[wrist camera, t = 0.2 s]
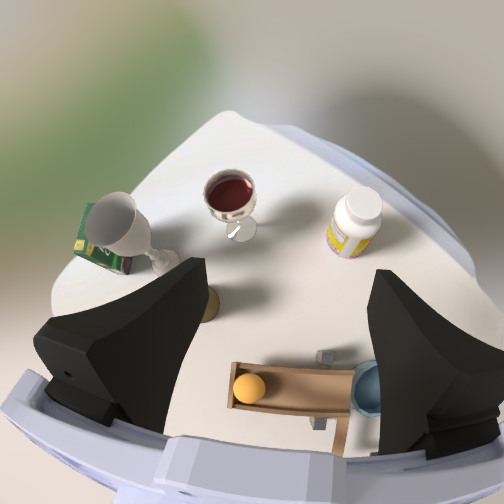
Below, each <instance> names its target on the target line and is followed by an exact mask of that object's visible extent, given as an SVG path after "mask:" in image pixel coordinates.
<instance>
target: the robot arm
mask: <svg viewBox="0 0 504 504" xmlns="http://www.w3.org/2000/svg"><path fill="white" fill-rule="evenodd" d="M208 300H209V290H208V282H207V274H206V266H205V258H194V257H191V258H189V259H187V260H185V261H184V262H182V263H181V264H179V265H177V266H176V267H174V268H173V269H171V270H170V271H168V272H167V273H165V274H163V275H162V276H160V277H159V278H157V279H155V280H154V281H152V282H150V283H149V284H147V285H145V286H143V287H142V288H140V289H138V290H136V291H134V292H132V293H130V294H128V295H126V296H124V297H122V298H119V299H117V300H115V301H112V302H109V303H107V304H104V305H101V306H99V307H96V308H92V309H89V310H85V311H82V312H78V313H74V314H69V315H63V316H58V317H52V318H50V319H49V320H48V321H47V322H46V323H45V325H44V326H43V327H42V328H41V329H40V330H39V331H38V333H37V334H36V335H35V336H34V338H33V342H34V347H35V349H36V352H37V353H38V355H39V357H40V358H41V360H42V361H43V363H44V364H45V366H46V367H47V369H48V370H49V371H50V373H51V374H52V375H53V378H52V380H51V381H50V382H49V381H48V380H47V379H46V378H44V377H43V376H41V375H39V374H37V373H36V372H34V371H32V370H30V369H27V370H26V371H25V373H24V374H23V375H22V376H21V378H20V379H19V381H18V382H17V383H16V385H15V386H14V388H13V389H12V390H11V392H10V393H9V395H8V396H7V398H6V399H5V400H4V402H3V403H2V405H1V406H0V412H1V413H2V414H3V415H4V416H5V417H6V418H7V419H8V420H9V421H10V422H11V423H12V424H13V425H14V426H15V427H16V428H18V429H19V430H20V431H21V432H22V433H23V434H24V435H25V436H26V437H28V438H29V439H30V440H31V441H32V442H33V443H35V444H36V445H38V446H39V447H40V448H42V449H43V450H45V451H46V452H48V453H49V454H51V455H52V456H54V457H55V458H57V459H58V460H60V461H61V462H63V463H64V464H66V465H68V466H69V467H71V468H72V469H74V470H76V471H77V472H79V473H81V474H83V475H84V476H86V477H88V478H90V479H92V480H93V481H95V482H97V483H99V484H101V485H103V486H105V487H107V488H109V489H111V490H113V491H115V492H116V494H115V497H114V499H113V502H112V504H470V503H472V502H474V501H477V500H479V499H482V498H484V497H486V496H488V495H491V494H493V493H495V492H497V491H499V490H500V489H502V488H504V421H503V422H501V423H500V424H498V422H497V417H499V415H500V410H499V407H498V406H499V405H500V404H501V403H502V402H503V400H504V351H503V350H500V349H497V348H495V347H492V346H490V345H488V344H486V343H484V342H482V341H480V340H478V339H476V338H474V337H473V336H471V335H469V334H468V333H466V332H464V331H463V330H461V329H459V328H458V327H456V326H455V325H453V324H452V323H451V322H449V321H448V320H446V319H445V318H444V317H442V316H441V315H440V314H439V313H437V312H436V311H435V310H434V309H432V308H431V307H430V306H429V305H428V304H427V303H425V302H424V301H423V300H422V299H421V298H420V297H419V296H418V295H417V294H416V293H415V292H414V291H412V290H411V289H410V288H409V287H408V286H407V285H406V284H405V283H404V282H403V281H402V280H401V279H400V278H399V277H398V276H397V275H396V274H394V273H393V272H392V271H391V270H382V269H377V270H376V274H375V278H374V282H373V287H372V291H371V294H370V298H369V302H368V306H367V314H368V325H369V331H370V336H371V340H372V345H373V349H374V354H375V358H376V363H377V368H378V374H379V383H380V407H381V419H380V440H379V451H378V456H370V457H353V458H342V457H340V456H337V455H335V454H332V453H328V452H318V451H309V450H290V449H277V448H267V447H258V446H250V445H243V444H236V443H230V442H224V441H219V440H214V439H209V438H204V437H196V436H188V435H181V436H177V437H170V436H167V435H163V432H164V427H165V422H166V417H167V413H168V409H169V405H170V401H171V397H172V393H173V390H174V387H175V383H176V380H177V377H178V374H179V370H180V367H181V364H182V362H183V359H184V357H185V354H186V352H187V350H188V348H189V346H190V344H191V342H192V340H193V338H194V336H195V333H196V331H197V329H198V327H199V325H200V323H201V321H202V319H203V316H204V313H205V310H206V307H207V304H208Z"/></svg>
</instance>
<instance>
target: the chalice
mask: <svg viewBox="0 0 504 504" xmlns="http://www.w3.org/2000/svg"><path fill="white" fill-rule="evenodd" d="M84 230H85V235H86V238H87V239H88V241H89V242H90V243H91V244H93V245H94V246H97V247H105V248H107V249H108V250H110V251H112V252H113V253H115V254H117V255H118V256H136V255H140V254H145V255H147V256H149V258H150V259H151V260H152V268H153V271H154V273H155V274H156V275H157V276H158V277H160V276H162V275H163V274H165V273H167V272H168V271H170V270H171V269H173V268H174V267H176V266H177V265H179V264H180V258H179V256H178V254H177V253H176V252H175V251H173V250H170V249H165V250H159V251H158V250H157V249H154V248H153V246H151V230H150V226H149V223H148V220H147V219H146V218H145V217H144V216H143V215H142V214H141V213H140V212H139V211H138V210H137V209H136V204H135V201H134V199H133V198H132V197H131V196H130V195H129V194H127V193H124V192H114V193H111V194H108V195H106V196H104V197H103V198H101V199H100V200H99V201H98V202H97V203H96V204H95V205H94V206H93V207H92V209H91V210H90V212H89V213H88V216H87V218H86V221H85V229H84Z"/></svg>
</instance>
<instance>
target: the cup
mask: <svg viewBox="0 0 504 504" xmlns="http://www.w3.org/2000/svg"><path fill="white" fill-rule="evenodd" d="M353 370H354V371H355V376H353V378H352V388H351V396H350V404H349V405H350V406H352V407H353V408H354V409H355V410H356V411H358V412H360V413H362V414H363V415H365V416H367V417H375V416H381V407H380V383H379V374H378V368H377V363H376V361H365V362H363V363H362V364H360V365H358V366H356V367H355V368H353Z"/></svg>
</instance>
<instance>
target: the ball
mask: <svg viewBox="0 0 504 504" xmlns="http://www.w3.org/2000/svg"><path fill="white" fill-rule="evenodd" d="M233 391H234V394H235V396H236V398H237V399H238V400H239V401H241V402H243V403H247V404H252V403H256V402H258V401H259V400H260V399H261V398H262V397H263V396H264V393H265V384H264V382H263V380H262V379H261V378H260V377H259V376H257V375H255V374H252V373H247V374H243V375H241V376H239V377H238V378H237V379H236V381H235V383H234V386H233Z"/></svg>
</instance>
